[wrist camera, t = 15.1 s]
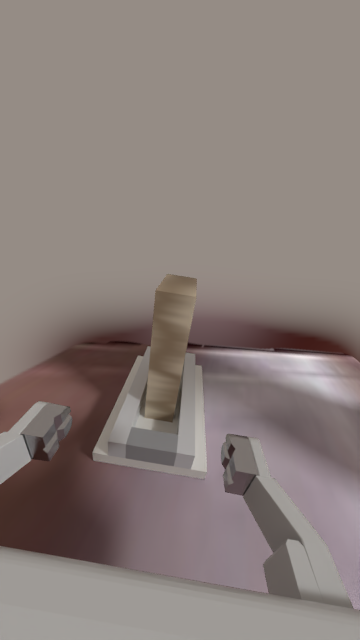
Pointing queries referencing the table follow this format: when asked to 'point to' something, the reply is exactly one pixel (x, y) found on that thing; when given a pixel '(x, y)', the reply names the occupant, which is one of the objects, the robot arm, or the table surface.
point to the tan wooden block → (169, 344)
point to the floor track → (157, 426)
